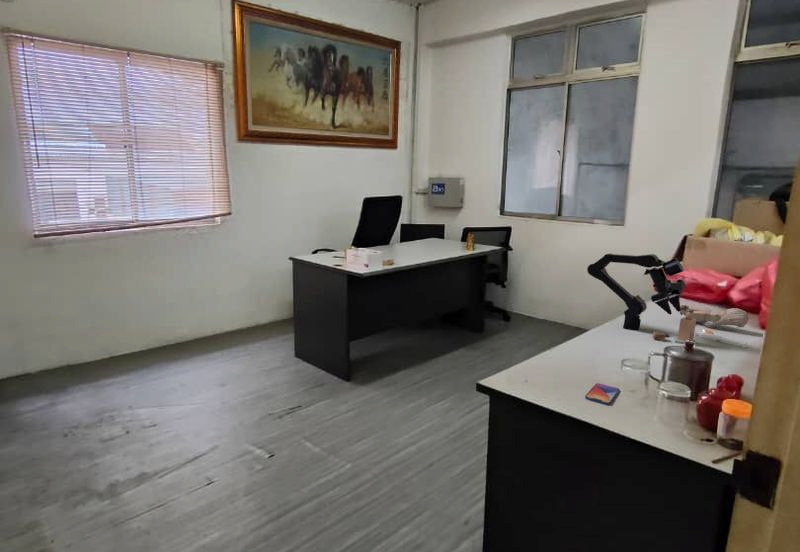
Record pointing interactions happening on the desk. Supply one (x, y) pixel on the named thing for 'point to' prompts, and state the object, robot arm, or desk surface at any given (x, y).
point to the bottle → (687, 327)
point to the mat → (681, 341)
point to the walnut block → (659, 336)
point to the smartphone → (602, 394)
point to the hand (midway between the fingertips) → (675, 312)
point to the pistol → (719, 338)
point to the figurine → (718, 316)
